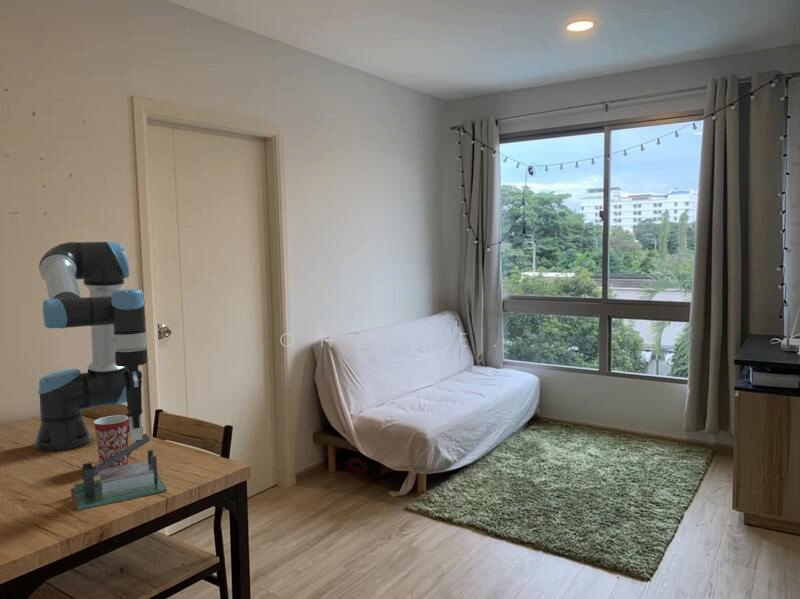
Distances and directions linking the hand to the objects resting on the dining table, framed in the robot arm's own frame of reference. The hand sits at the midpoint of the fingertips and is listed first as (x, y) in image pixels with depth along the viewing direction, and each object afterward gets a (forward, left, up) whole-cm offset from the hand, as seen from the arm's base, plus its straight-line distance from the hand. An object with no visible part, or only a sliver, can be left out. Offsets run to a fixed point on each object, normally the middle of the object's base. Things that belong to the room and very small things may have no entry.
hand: (136, 439), depth 154 cm
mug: (-21, -2, -13) cm, 25 cm away
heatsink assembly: (0, -4, -13) cm, 13 cm away
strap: (0, -4, -4) cm, 6 cm away
